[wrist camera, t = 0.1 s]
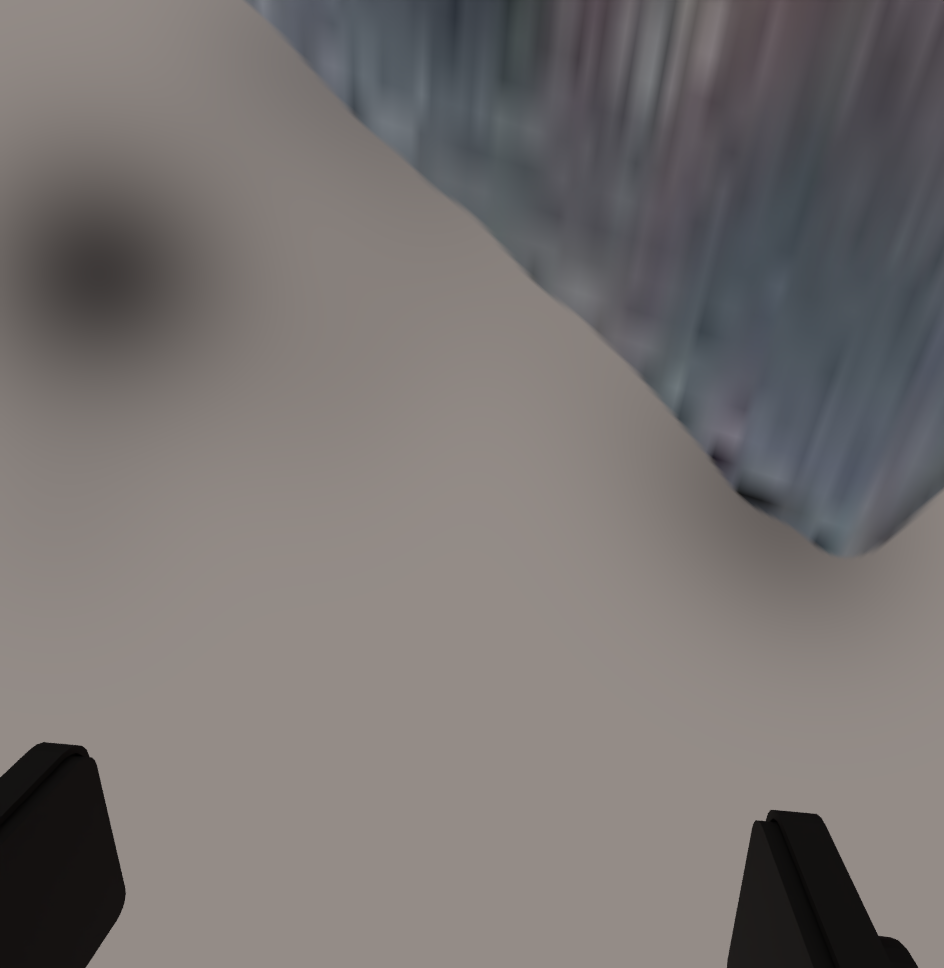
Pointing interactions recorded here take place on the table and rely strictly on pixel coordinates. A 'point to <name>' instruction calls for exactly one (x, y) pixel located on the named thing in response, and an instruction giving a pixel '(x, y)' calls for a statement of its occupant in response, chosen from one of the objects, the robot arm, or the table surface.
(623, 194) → the table surface
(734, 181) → the table surface
